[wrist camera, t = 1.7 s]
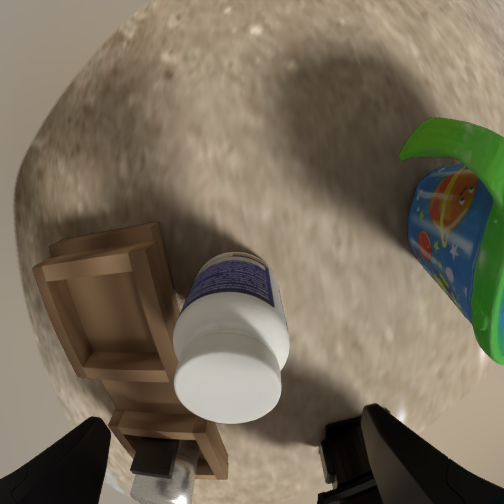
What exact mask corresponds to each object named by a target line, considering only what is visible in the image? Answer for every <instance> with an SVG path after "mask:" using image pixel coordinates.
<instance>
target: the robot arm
mask: <svg viewBox="0 0 504 504" xmlns="http://www.w3.org/2000/svg"><path fill="white" fill-rule="evenodd" d="M110 440H111V432H110V430H109V429H108V427H107V426H106V424H105V423H104V421H103V420H102V419H101V418H99V417H93V416H91V417H89V418H88V419H86V420H85V421H84V422H82V423H81V424H80V425H78V426H77V427H76V428H74V429H73V430H72V431H70V432H69V433H68V434H66V435H65V436H64V437H63V438H61V439H60V440H58V441H57V442H55V443H54V444H53V445H51V446H50V447H49V448H47V449H46V450H44V451H43V452H42V453H40V454H39V455H38V456H36V457H35V458H33V459H32V460H30V461H29V462H28V463H26V464H25V465H23V466H22V467H20V468H19V469H17V470H16V471H14V472H12V473H11V474H9V475H7V476H5V477H3V478H2V479H0V504H98V503H99V498H100V494H101V489H102V485H103V481H104V477H105V472H106V468H107V461H108V454H109V447H110ZM320 457H321V462H322V467H323V472H324V477H325V482H326V483H327V484H331V483H332V486H333V490H330V491H328V492H322V493H319V494H318V501H317V504H504V488H502V487H500V486H497V485H495V484H493V483H491V482H489V481H487V480H485V479H483V478H481V477H478V476H477V475H475V474H473V473H471V472H469V471H467V470H466V469H464V468H463V467H461V466H460V465H458V464H457V463H455V462H454V461H453V460H451V459H448V457H447V456H446V455H444V454H443V453H441V452H440V451H439V450H437V449H436V448H435V447H433V446H432V445H431V444H429V443H428V442H427V441H425V440H424V439H423V438H421V437H420V436H419V435H417V434H416V433H415V432H413V431H412V430H411V429H409V428H408V427H407V426H405V425H404V424H403V423H402V422H400V421H399V420H398V419H396V418H395V417H394V416H392V415H391V414H390V412H389V411H388V410H385V409H384V408H382V407H381V406H380V405H378V404H377V403H373V404H370V405H366V406H365V407H364V409H363V413H362V417H360V418H356V419H352V420H347V421H343V422H338V423H333V424H329V425H327V426H326V427H325V436H324V440H322V441H321V444H320Z"/></svg>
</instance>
